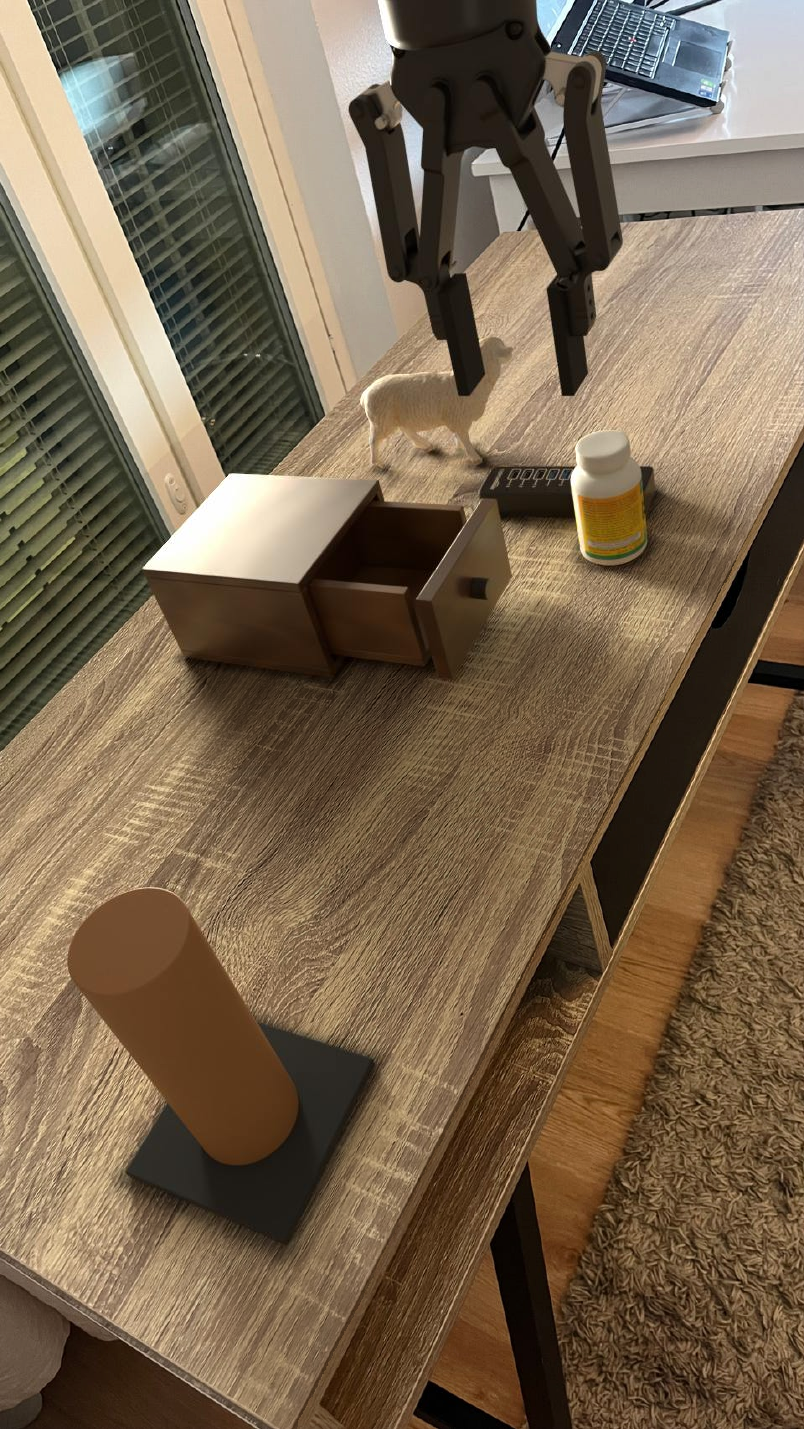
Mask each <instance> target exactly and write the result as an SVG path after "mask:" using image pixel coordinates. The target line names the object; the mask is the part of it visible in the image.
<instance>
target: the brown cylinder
mask: <svg viewBox="0 0 804 1429" xmlns="http://www.w3.org/2000/svg"><path fill="white" fill-rule="evenodd" d="M66 960H67V961H66V962H67V971H68V974H69V976H70V979H71V981H72V982H73V983H74V985H75V986H76V987H77V988H78V990H79V991H80V992H81V994H82V995H83V996H84V998H85V999H86V1000H87V1001H88V1003H89V1004H90V1005H91V1007H92V1008H93V1009H94V1011H95V1012H96V1013H97V1014H98V1016H99V1017H100V1018H101V1020H102V1021H103V1022H104V1023H105V1024H106V1026H107V1027H108V1028H109V1029H110V1031H111V1032H112V1033H113V1035H114V1036H115V1037H116V1039H118V1041H119V1042H120V1044H121V1045H122V1046H123V1048H124V1049H125V1050H126V1051H127V1053H128V1054H129V1056H131V1058H132V1059H133V1060H134V1062H135V1063H136V1064H137V1065H138V1067H139V1068H140V1070H142V1072H143V1073H144V1074H145V1076H146V1077H147V1078H148V1080H149V1081H150V1082H151V1083H152V1085H153V1086H154V1088H155V1089H156V1090H157V1092H158V1093H159V1094H160V1095H161V1096H162V1097H163V1099H164V1100H165V1101H166V1103H167V1102H168V1104H169V1105H170V1106H171V1108H172V1109H173V1110H174V1111H175V1113H176V1114H177V1115H178V1117H179V1118H180V1119H181V1120H182V1122H183V1123H184V1124H185V1126H186V1127H187V1128H188V1129H189V1131H190V1132H191V1133H192V1134H193V1136H194V1137H195V1138H196V1140H197V1141H198V1142H199V1143H200V1145H201V1146H202V1147H203V1149H204V1150H205V1151H206V1152H207V1153H208V1154H209V1155H210V1156H211V1157H212V1158H214V1159H215V1160H217V1161H219V1162H221V1163H224V1164H228V1165H246V1164H250V1163H254V1162H256V1161H259V1160H261V1159H263V1158H265V1157H267V1156H268V1155H270V1154H271V1153H273V1152H274V1151H275V1150H276V1149H277V1148H278V1147H279V1146H280V1145H281V1144H282V1143H283V1142H284V1141H285V1139H286V1138H287V1137H288V1135H289V1134H290V1132H291V1130H292V1128H293V1126H294V1124H295V1121H296V1118H297V1113H298V1104H299V1102H298V1094H297V1090H296V1087H295V1085H294V1083H293V1081H292V1080H291V1078H290V1076H289V1075H288V1073H287V1071H286V1070H285V1068H284V1066H283V1065H282V1063H281V1062H280V1060H279V1058H278V1057H277V1055H276V1053H275V1052H274V1050H273V1048H272V1047H271V1045H270V1043H269V1042H268V1040H267V1038H266V1037H265V1035H264V1033H263V1032H262V1030H261V1028H260V1027H259V1025H258V1023H257V1022H258V1021H257V1020H256V1019H255V1017H254V1015H253V1013H252V1012H251V1010H250V1008H249V1007H248V1006H247V1004H246V1002H245V1000H244V998H243V997H242V995H241V994H240V992H239V990H238V989H237V987H236V986H235V984H234V982H233V980H232V979H231V977H230V975H229V973H228V972H227V971H226V968H225V967H224V965H223V963H222V962H221V960H220V958H219V957H218V955H217V953H216V952H215V951H214V948H213V947H212V946H211V943H210V942H209V941H208V939H207V937H206V936H205V934H204V933H203V930H202V929H201V927H200V925H199V924H198V922H197V921H196V919H195V918H194V916H193V914H192V912H191V910H190V909H189V907H188V906H187V904H186V903H185V901H184V900H183V899H182V898H181V897H180V896H178V894H176V893H175V892H172V891H170V890H167V889H165V888H161V887H152V886H151V887H141V888H140V887H138V888H134V889H130V890H127V891H125V892H122V893H119V894H117V895H115V896H113V897H111V898H109V899H107V900H106V901H104V902H103V903H101V904H100V905H98V906H97V907H96V908H95V909H94V910H93V911H92V912H90V914H89V915H88V916H87V917H86V918H85V919H84V920H83V921H82V923H81V924H80V925H79V927H78V928H77V929H76V931H75V932H74V934H73V937H72V939H71V941H70V944H69V946H68V950H67V958H66ZM256 1021H257V1022H256Z"/></svg>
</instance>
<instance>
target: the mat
mask: <svg viewBox="0 0 804 1429" xmlns="http://www.w3.org/2000/svg"><path fill="white" fill-rule="evenodd" d="M256 1022H257V1023H258V1025H259V1027H260V1028H261V1030H262V1032H263V1033H264V1035H265V1037H266V1038H267V1040H268V1042H269V1043H270V1045H271V1047H272V1048H273V1050H274V1052H275V1053H276V1055H277V1057H278V1058H279V1060H280V1062H281V1063H282V1065H283V1066H284V1068H285V1070H286V1071H287V1073H288V1075H289V1076H290V1078H291V1080H292V1081H293V1083H294V1085H295V1087H296V1090H297V1094H298V1102H299V1104H298V1113H297V1118H296V1121H295V1124H294V1126H293V1128H292V1130H291V1132H290V1134H289V1135H288V1137H287V1138H286V1139H285V1141H284V1142H283V1143H282V1144H281V1145H280V1146H279V1147H278V1148H277V1149H276V1150H275V1151H274V1152H273V1153H271V1154H270V1155H268V1156H267V1157H265V1158H263V1159H261V1160H259V1161H256V1162H254V1163H250V1164H246V1165H228V1164H224V1163H221V1162H219V1161H217V1160H215V1159H214V1158H212V1157H211V1156H210V1155H209V1154H208V1153H207V1152H206V1151H205V1150H204V1149H203V1147H202V1146H201V1145H200V1143H199V1142H198V1141H197V1140H196V1138H195V1137H194V1136H193V1134H192V1133H191V1132H190V1131H189V1129H188V1128H187V1127H186V1126H185V1124H184V1123H183V1122H182V1120H181V1119H180V1118H179V1117H178V1115H177V1114H176V1113H175V1111H174V1110H173V1109H172V1108H171V1106H170V1105H169V1104H168V1102H167V1101H166V1103H165V1105H164V1107H163V1109H162V1111H160V1114H159V1115H158V1117H157V1119H156V1120H155V1122H154V1123H153V1125H152V1127H151V1129H150V1130H149V1132H148V1133H147V1136H145V1139H144V1140H143V1142H142V1143H141V1145H140V1147H139V1148H138V1150H137V1151H136V1153H135V1155H134V1157H133V1158H132V1160H131V1162H130V1163H129V1165H128V1166H127V1168H126V1170H125V1174H126V1176H128V1178H131V1179H133V1180H135V1181H138V1182H140V1183H141V1184H143V1185H147V1186H148V1187H151V1188H154V1189H156V1190H158V1191H160V1192H163V1193H165V1194H168V1195H169V1196H172V1197H175V1198H177V1199H179V1200H181V1201H184V1202H186V1203H188V1204H190V1205H193V1206H196V1207H198V1208H200V1209H202V1210H204V1211H207V1212H209V1213H212V1214H214V1215H216V1216H218V1217H221V1218H223V1219H225V1220H228V1221H230V1222H232V1223H234V1224H238V1225H240V1226H242V1227H243V1228H246V1229H249V1230H251V1231H254V1232H256V1233H258V1234H260V1235H263V1236H265V1237H267V1238H270V1239H272V1240H274V1241H277V1242H278V1243H282V1244H284V1245H288V1243H289V1241H290V1240H291V1237H292V1235H293V1233H294V1231H295V1230H296V1227H297V1225H298V1223H299V1221H300V1219H301V1216H302V1214H303V1212H304V1211H305V1208H306V1206H307V1204H308V1203H309V1200H310V1199H311V1196H312V1194H313V1192H314V1190H315V1189H316V1186H317V1183H318V1182H319V1179H320V1178H321V1175H323V1174H322V1173H323V1172H324V1169H325V1168H326V1165H327V1164H328V1161H329V1159H330V1157H331V1155H332V1154H333V1151H334V1149H335V1147H336V1145H337V1143H338V1141H339V1139H340V1136H341V1134H342V1132H343V1131H344V1129H345V1127H346V1124H347V1122H348V1120H349V1118H350V1116H351V1114H352V1112H353V1110H354V1108H355V1106H356V1104H357V1102H358V1100H359V1098H360V1095H361V1094H362V1091H363V1089H364V1087H365V1085H366V1083H367V1081H368V1080H369V1077H370V1076H371V1073H372V1072H373V1069H374V1067H375V1064H376V1063H375V1061H374V1059H373V1058H372V1057H369V1056H365V1055H364V1054H363V1055H362V1054H360V1053H357V1052H354V1051H350V1050H347V1049H344V1048H341V1047H338V1046H335V1045H331V1044H328V1043H325V1042H322V1041H319V1040H315V1039H313V1038H310V1037H306V1036H303V1035H300V1034H298V1033H294V1032H292V1031H289V1030H285V1029H282V1028H278V1027H276V1026H273V1025H269V1024H266V1023H263V1022H260V1021H257V1020H256Z"/></svg>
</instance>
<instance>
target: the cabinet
mask: <svg viewBox="0 0 804 1429" xmlns="http://www.w3.org/2000/svg"><path fill="white" fill-rule="evenodd" d="M371 501H386V500H385V497H384V492H383V490H382V486H381V483H380V480H379V479H370V478H369V479H368V478H367V479H366V478H344V477H342V478H341V477H317V476H294V475H270V474H269V475H268V474H244V473H229V474H228V476H227V477H226V478H225V479H223V481H222V482H221V483H220V484H219V486H218V487H217V488H216V489H214V491H213V492H212V493H211V494H210V495H209V496H208V498H206V499H205V500H204V502H203V503H202V504H200V506H199V507H198V508H197V509H196V510H195V511H194V512H193V513H192V515H190V517H188V519H187V520H186V521H185V522H184V523H183V524H182V525H181V527H179V529H178V530H177V531H175V533H174V534H173V535H172V536H171V537H170V538H169V540H168V541H167V542H166V543H165V544H164V545H163V546H162V547H161V548H160V549H159V550H158V551H157V552H156V553H155V555H153V556H152V558H151V559H150V560H148V562H147V563H146V564H145V566H143V567H142V569H141V571H142V573H143V575H144V577H145V580H146V582H147V584H148V586H149V588H150V590H151V592H152V594H153V596H154V598H155V600H156V602H157V605H158V606H159V608H160V610H161V613H162V615H163V617H164V619H165V621H166V623H167V625H168V627H169V629H170V632H171V634H172V635H173V637H174V640H175V642H176V644H177V646H178V648H179V651H180V652H181V655H182V656H183V658H189V659H196V660H204V661H210V662H217V663H224V664H225V663H226V664H232V665H239V666H244V667H245V666H246V667H253V668H260V669H266V670H267V669H268V670H275V671H283V672H288V673H289V672H290V673H296V674H304V675H309V676H310V675H311V676H317V677H323V678H324V677H325V678H330V679H331V678H334V677H335V675H336V673H337V672H338V670H339V669H340V668H341V666H342V664H343V663H344V661H345V660H346V659H347V657H348V656H341V655H333V654H331V653H330V650H329V648H328V645H327V642H326V639H325V637H324V634H323V631H322V628H321V626H320V623H319V620H318V617H317V615H316V612H315V609H314V606H313V604H312V601H311V598H310V595H309V593H308V590H307V587H306V585H307V584H308V583H309V582H310V580H311V579H312V578H313V576H314V575H315V574H316V572H317V571H318V570H319V568H320V567H321V566H322V564H323V563H324V562H325V561H326V559H327V558H328V557H329V555H330V554H331V553H332V551H333V550H334V549H335V547H336V546H337V545H338V543H339V542H340V541H341V540H342V538H343V537H344V536H345V534H346V533H347V532H348V530H349V529H350V528H351V526H352V525H353V524H354V523H355V521H356V520H357V519H358V517H359V516H360V515H361V513H362V512H363V511H364V509H365V508H366V507H367V505H368V504H369V503H370V502H371Z"/></svg>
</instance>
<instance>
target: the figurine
mask: <svg viewBox="0 0 804 1429" xmlns="http://www.w3.org/2000/svg"><path fill="white" fill-rule="evenodd" d="M478 338H479V343H480V349H481V354H482V359H483V364H484V369H485V376H484V377H483V379H482V380H481V381H480V383H479V384H478V385H477V387H476V388H475V389H474V391H473V392H472V393H471V395H470V396H458V392H457V387H456V382H455V378H454V373H453V369H452V370H446V371H441V372H439V371H434V372H431V371H425V372H415V373H400V374H398V373H397V374H396V373H395V374H386V375H384V376H381V377H380V378H378V379H377V380H375V381H374V382H372V384H371V385H370V386H368V387H367V388H365V390H364V391H363V393H362V394H361V397H360V401H359V402H360V405H361V407H362V408H363V409H364V410H365V414H366V417H367V419H368V420H369V438H368V443H369V449H370V464H372V465H374V464H376V465H377V466H378V467H380V469H386V465H384V463H383V460H382V459H381V457H380V454H379V453H380V450H379V449H380V445H381V443H382V441H383V440H385V439H388V438H389V437H391V436H392V435H393V434H395V432H396V431H397V429H398V430H399V431H400V432H402V433H403V434H404V435H406V436H407V437H408V438H409V440H410V441H411V442H412V444H413V445H414V447H416V448H419V449H421V450H422V451H423V452H425V453H429V452H431V451H433V450H434V448H435V446H434V444H433V443H432V442H431V441H430V440H429V439H427V438H425V437H423V436H422V435H420V434H419V433H421V432H427V431H431V430H435V429H437V428H440V427H446V428H447V429H448V430H449V431H450V432H451V433H453V434H454V437H455V438H454V439H455V440H454V441H455V444H456V446H457V447H458V448H460V449H461V451H462V452H464V453H465V455H466V457H467V458H469V459H470V461H471V463H472V465H475V466H476V465H477V466H478V465H480V464H482V463H483V458H482V456H480V455H479V454H478V452H477V451H476V449H475V448H474V446H473V444H472V442H471V438H470V434H469V431H470V429H471V427H472V424H473V422H477V421H479V420H480V419H481V418H482V417H483V416H484V413H485V410H486V406H487V403H488V401H489V397H490V395H491V393H492V391H493V390H494V388H495V386H496V384H497V381H498V379H499V378H500V376H501V371H502V365H505V364H508V363H509V361H510V360H511V359H512V358H513V351H514V348H513V347H511V346H507V345H505V343H504V340H503V339H501V338H499V337H496V336H484V337H482V338H480V337H479V336H478ZM418 432H419V433H418Z"/></svg>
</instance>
